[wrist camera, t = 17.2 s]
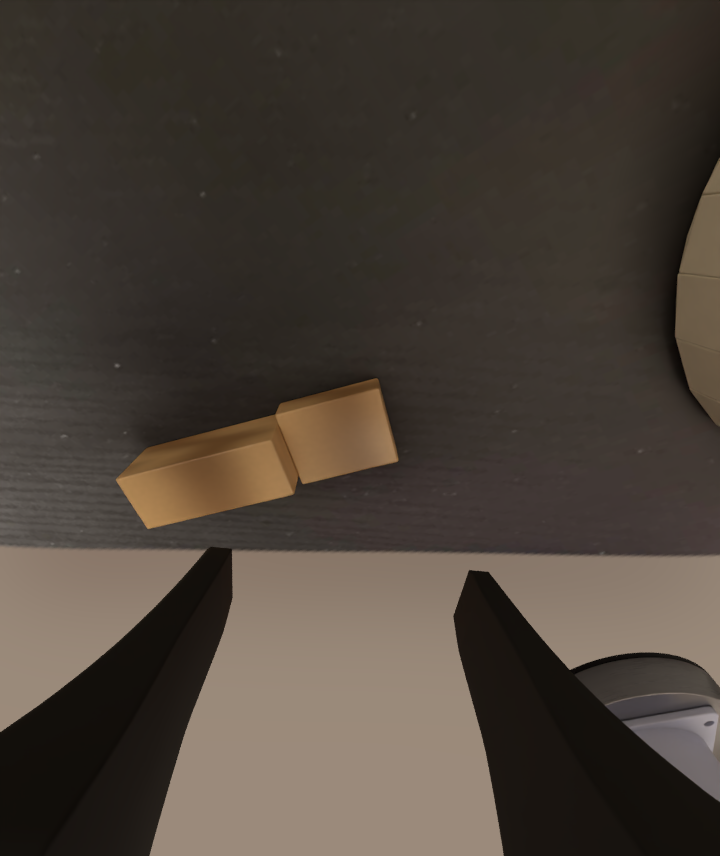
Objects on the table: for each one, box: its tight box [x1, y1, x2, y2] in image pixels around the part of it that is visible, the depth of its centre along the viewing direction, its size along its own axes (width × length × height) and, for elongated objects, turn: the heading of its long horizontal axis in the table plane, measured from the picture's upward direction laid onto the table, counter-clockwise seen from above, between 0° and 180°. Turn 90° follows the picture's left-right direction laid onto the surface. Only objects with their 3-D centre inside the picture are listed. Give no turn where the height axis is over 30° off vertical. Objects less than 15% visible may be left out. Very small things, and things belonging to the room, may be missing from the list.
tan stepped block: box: [116, 378, 399, 529], centre depth 15 cm, size 10×3×2 cm, turn 105°
